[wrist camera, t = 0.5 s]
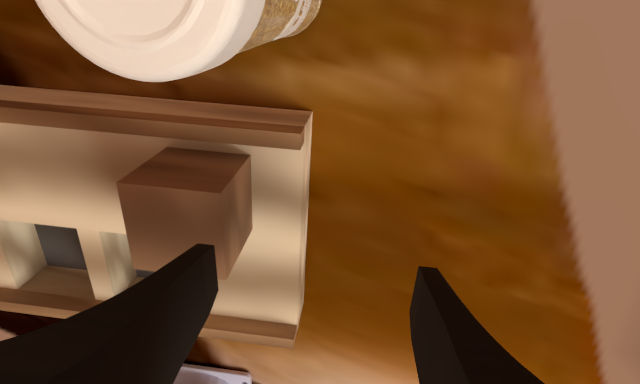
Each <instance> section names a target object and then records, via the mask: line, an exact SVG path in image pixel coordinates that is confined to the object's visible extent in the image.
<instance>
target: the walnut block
mask: <svg viewBox="0 0 640 384" xmlns="http://www.w3.org/2000/svg"><path fill="white" fill-rule="evenodd" d="M116 185H117V190H118V195H119V200H120V204H121V209H122V214H123V219H124V224H125V229H126V234H127V239H128V244H129V249H130V254H131V259H132V264H133V269H139V270H147V271H155V272H156V271H157V270H159V269H160V268H162V267H163V266H165V265H166V264H168V263H169V262H171V261H172V260H174V259H175V258H177V257H178V256H179V255H181V254H182V253H184V252H185V251H187V250H188V249H190V248H191V247H193V246H194V245H196V244H198V243H200V244H209V245H214V246H215V257H216V268H217V278H218V279H221V280H227V278H228V276H229V274H230V272H231V270H232V268H233V266H234V264H235V262H236V260H237V259H238V257H239V255H240V253H241V251H242V249H243V247H244V245H245V243H246V241H247V239H248V237H249V235H250V233H251V231H252V229H253V223H252V186H251V155H246V154H236V153H225V152H215V151H204V150H194V149H183V148H173V147H166V148H165V149H163V150H162V151H160V152H159V153H157V154H156V155H155V156H153V157H152V158H150V159H149V160H148V161H146V162H145V163H143V164H142V165H140V166H139V167H138V168H136V169H135V170H133V171H132V172H130V173H129V174H128V175H126V176H125V177H123V178H122V179H121V180H119V181H118V182H116Z"/></svg>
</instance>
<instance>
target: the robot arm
mask: <svg viewBox="0 0 640 384" xmlns="http://www.w3.org/2000/svg"><path fill="white" fill-rule="evenodd" d="M218 290H219V289H218V278H217V268H216V257H215V246H214V245H209V244H200V243H198V244H196V245H194V246H193V247H191V248H190V249H188V250H187V251H185V252H184V253H182V254H181V255H179V256H178V257H177V258H175V259H174V260H172V261H171V262H169V263H168V264H166V265H165V266H163V267H162V268H160V269H159V270H157V271H156V272H154V273H153V274H151V275H149V276H148V277H146V278H144V279H143V280H141V281H139V282H138V283H136V284H135V285H133V286H131V287H130V288H128V289H126V290H124V291H123V292H121V293H119V294H117V295H115V296H113V297H112V298H110V299H108V300H106V301H104V302H102V303H100V304H98V305H95V306H93V307H91V308H89V309H87V310H84V311H82V312H80V313H77V314H75V315H73V316H70V317H68V318H66V319H63V320H61V321H59V322H56V323H53V324H51V325H48V326H45V327H43V328H40V329H37V330H34V331H31V332H28V333H25V334H22V335H19V336H16V337H13V338H10V339H6V340H3V341H0V384H252V382H251V375H250V374H249V373H247V372H242V371H234V370H227V369H220V368H213V367H206V366H198V365H191V364H184V361H185V359H186V358H187V356H188V354H189V352H190V350H191V348H192V346H193V345H194V343H195V341H196V339H197V337H198V335H199V334H200V332H201V330H202V328H203V326H204V324H205V322H206V320H207V318H208V316H209V314H210V312H211V309H212V307H213V304H214V301H215V299H216V296H217V293H218ZM410 328H411V340H412V346H413V351H414V357H415V362H416V367H417V373H418V378H419V383H420V384H544V383H543V382H542V381H541V380H539V379H538V378H537V377H536V376H534V375H533V374H532V373H531V372H530V371H528V370H527V369H526V368H525V367H524V366H522V365H521V364H520V363H519V362H518V361H517V360H516V359H515V358H513V357H512V356H511V355H510V354H509V353H508V352H507V351H506V350H505V349H504V348H503V347H502V346H501V345H500V344H499V343H498V342H497V341H496V340H495V339H494V338H493V337H492V336H491V335H490V334H489V333H488V332H487V331H486V330H485V329H484V328H483V327H482V325H481V324H480V323H479V322H478V321H477V320H476V319H475V317H474V316H473V315H472V314H471V313H470V311H469V310H468V309H467V308H466V306H465V305H464V304H463V303H462V301H461V300H460V299H459V297H458V296H457V295H456V293H455V292H454V291H453V289H452V288H451V287H450V285H449V284H448V283H447V281H446V280H445V278H444V277H443V276H442V274H441V273H440V272H439V270H438V269H437V268H431V267H421V266H419V267H418V272H417V277H416V282H415V287H414V292H413V297H412V302H411V307H410Z"/></svg>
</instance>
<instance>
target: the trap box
mask: <svg viewBox="0 0 640 384" xmlns="http://www.w3.org/2000/svg"><path fill="white" fill-rule="evenodd" d="M312 114H313V111H302V110H290V109H279V108H267V107H255V106H243V105H231V104H220V103H208V102H196V101H184V100H173V99H161V98H149V97H137V96H125V95H114V94H102V93H90V92H78V91H66V90H55V89H43V88H31V87H19V86H8V85H0V310H3V311H11V312H18V313H26V314H33V315H41V316H48V317H56V318H63V319H66V318H68V317H70V316H73V315H75V314H77V313H80V312H82V311H84V310H87V309H89V308H91V307H93V306H95V305H98V304H100V303H102V302H104V301H106V300H108V299H110V298H112V297H113V296H115V295H117V294H119V293H121V292H123V291H124V290H126V289H128V288H130V287H131V286H133V285H135V284H136V283H138V282H139V281H141V280H143V279H144V278H146V277H148V276H149V275H151V274H153V273H154V272H155V271H147V270H139V269H133V264H132V259H131V254H130V249H129V244H128V239H127V234H126V229H125V224H124V219H123V214H122V209H121V204H120V200H119V195H118V190H117V185H116V182H118V181H119V180H121V179H122V178H123V177H125V176H126V175H128V174H129V173H130V172H132V171H133V170H135V169H136V168H138V167H139V166H140V165H142V164H143V163H145V162H146V161H148V160H149V159H150V158H152V157H153V156H155V155H156V154H157V153H159V152H160V151H162V150H163V149H165V148H166V147H173V148H183V149H194V150H204V151H215V152H225V153H236V154H246V155H251V186H252V223H253V229H252V231H251V233H250V235H249V237H248V239H247V241H246V243H245V245H244V247H243V249H242V251H241V253H240V255H239V257H238V259H237V260H236V262H235V264H234V266H233V268H232V270H231V272H230V274H229V276H228V278H227V280H221V279H218V289H219V290H218V293H217V296H216V299H215V301H214V304H213V307H212V309H211V312H210V314H209V316H208V318H207V320H206V322H205V324H204V326H203V328H202V330H201V332H200V334H199V335H198V336H199V337H206V338H214V339H221V340H229V341H236V342H244V343H251V344H259V345H266V346H274V347H281V348H289V349H293V348H294V344H295V339H296V334H297V330H298V325H299V320H300V316H301V311H302V307H303V301H304V280H305V259H306V239H307V218H308V197H309V176H310V156H311V135H312Z"/></svg>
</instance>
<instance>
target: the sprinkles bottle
mask: <svg viewBox="0 0 640 384" xmlns="http://www.w3.org/2000/svg"><path fill="white" fill-rule="evenodd" d="M35 1H36V3H37V5H38V7H39V8H40V10H41V11H42V12H43V14H44V15H45V17H46V18H47V20H48V21H49V22H50V24H51V25H52V26H53V28H54V29H55V30H56V31H57V32H58V33H59V34H60V35H61V37H62V38H63V39H64V40H65V41H66V42H67V43H68V44H70V45H71V46H72V47H73V48H74V49H75V50H76V51H77V52H79V53H80V54H81V55H82V56H84V57H85V58H87V59H88V60H90V61H91V62H93V63H94V64H96V65H97V66H99V67H101V68H103V69H105V70H107V71H109V72H111V73H114V74H116V75H119V76H122V77H125V78H128V79H133V80H138V81H143V82H166V81H172V80H178V79H182V78H186V77H189V76H192V75H196V74H199V73H202V72H204V71H207V70H209V69H212V68H215V67H217V66H219V65H221V64H223V63H224V62H226V61H228V60H229V59H231V58H232V57H233V56H234V55H236V54H237V53H240V52H243V51H245V50H248V49H251V48H254V47H256V46H259V45H262V44H264V43H267V42H270V41H274V40H276V39H279V38H285V37H291V36H294V35H296V34H298V33H300V32H301V31H303V30H304V29H306V28H307V27H308V26H309V24H310V23H311V22H312V21H313V20H314V18H315V17H316V15H317V13H318V11H319V9H320V5H321V2H322V0H35Z"/></svg>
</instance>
